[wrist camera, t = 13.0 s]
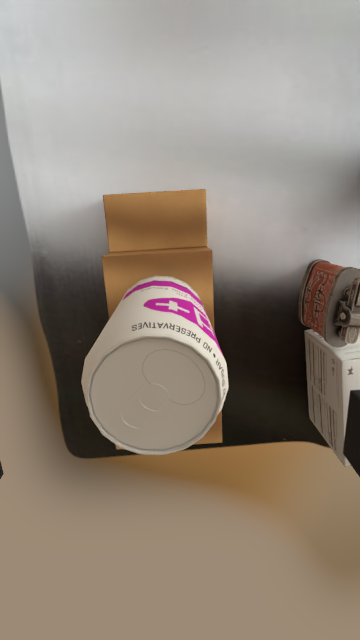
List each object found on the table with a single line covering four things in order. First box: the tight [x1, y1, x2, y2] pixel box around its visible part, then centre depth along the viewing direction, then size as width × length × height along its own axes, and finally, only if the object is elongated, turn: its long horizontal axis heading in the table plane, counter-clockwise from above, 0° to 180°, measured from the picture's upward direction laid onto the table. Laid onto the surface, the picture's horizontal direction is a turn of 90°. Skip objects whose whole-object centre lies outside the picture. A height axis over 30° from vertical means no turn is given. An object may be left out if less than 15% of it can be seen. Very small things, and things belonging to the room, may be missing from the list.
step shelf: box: [102, 189, 222, 449], centre depth 33 cm, size 23×10×12 cm, turn 3°
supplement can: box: [81, 276, 229, 455], centre depth 24 cm, size 8×8×15 cm
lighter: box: [298, 259, 360, 347], centre depth 34 cm, size 8×3×10 cm, turn 176°
